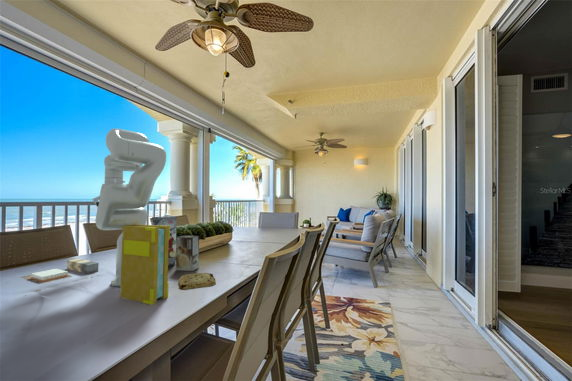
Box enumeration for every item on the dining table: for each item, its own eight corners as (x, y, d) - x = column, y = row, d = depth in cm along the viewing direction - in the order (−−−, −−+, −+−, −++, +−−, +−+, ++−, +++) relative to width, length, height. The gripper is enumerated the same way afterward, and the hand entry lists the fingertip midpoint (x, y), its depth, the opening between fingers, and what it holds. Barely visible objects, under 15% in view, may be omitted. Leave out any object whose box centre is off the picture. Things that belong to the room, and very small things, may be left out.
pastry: (164, 287, 94) (165, 279, 94) (196, 274, 110) (196, 268, 110) (199, 294, 88) (199, 285, 88) (227, 279, 104) (227, 272, 104)
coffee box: (199, 267, 120) (200, 235, 121) (192, 271, 114) (193, 237, 114) (182, 266, 122) (183, 235, 122) (175, 270, 115) (175, 237, 116)
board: (72, 279, 101) (72, 276, 101) (40, 287, 92) (41, 283, 92) (52, 274, 108) (52, 270, 109) (20, 280, 99) (20, 277, 99)
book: (168, 296, 84) (170, 225, 85) (151, 304, 77) (154, 227, 78) (133, 290, 89) (135, 224, 90) (115, 297, 83) (117, 225, 84)
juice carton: (147, 267, 119) (149, 214, 120) (165, 262, 129) (166, 213, 130) (160, 270, 116) (162, 214, 117) (177, 264, 125) (179, 213, 127)
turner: (98, 273, 108) (98, 262, 108) (87, 276, 104) (88, 264, 104) (77, 268, 115) (77, 258, 116) (66, 271, 112) (67, 260, 112)
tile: (56, 273, 105) (67, 276, 101) (30, 278, 98) (42, 282, 94) (56, 268, 105) (67, 271, 101) (31, 273, 98) (42, 276, 94)
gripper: (126, 183, 129) (125, 214, 129) (89, 180, 114) (88, 216, 113) (135, 182, 126) (134, 214, 125) (98, 180, 110) (97, 216, 110)
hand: (112, 215), depth 119 cm, fingers open, 9 cm apart
